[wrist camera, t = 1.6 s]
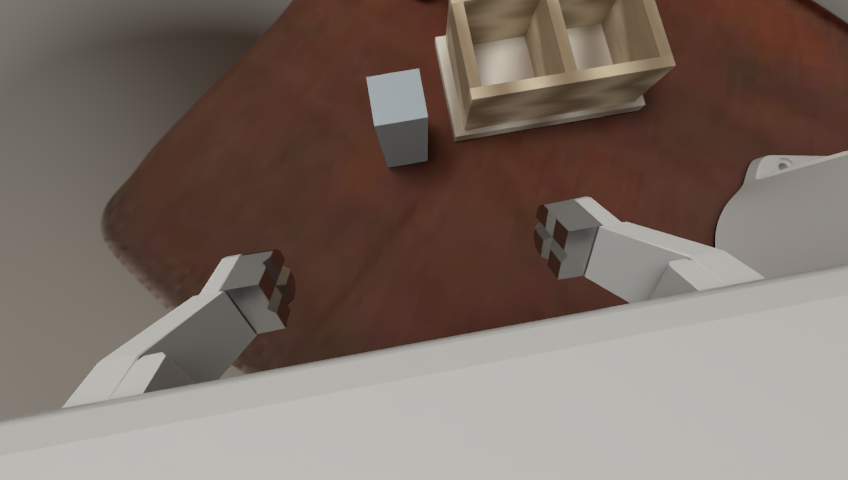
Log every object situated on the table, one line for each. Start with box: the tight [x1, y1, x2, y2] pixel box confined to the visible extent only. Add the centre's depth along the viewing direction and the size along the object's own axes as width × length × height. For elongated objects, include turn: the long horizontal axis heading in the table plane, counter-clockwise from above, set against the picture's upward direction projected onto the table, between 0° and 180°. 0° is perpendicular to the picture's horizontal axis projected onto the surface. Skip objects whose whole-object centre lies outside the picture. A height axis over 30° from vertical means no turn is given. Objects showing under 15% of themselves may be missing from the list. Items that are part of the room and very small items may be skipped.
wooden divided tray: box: [435, 0, 676, 142], centre depth 28 cm, size 19×11×6 cm, turn 100°
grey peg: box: [366, 69, 428, 168], centre depth 26 cm, size 4×4×8 cm
